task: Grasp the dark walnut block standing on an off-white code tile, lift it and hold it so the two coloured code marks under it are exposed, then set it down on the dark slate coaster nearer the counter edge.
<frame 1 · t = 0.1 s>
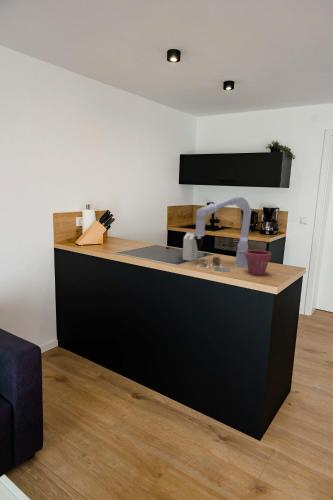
hand: (199, 248, 221), 10 cm above the worktop, fingers open, 7 cm apart
milk carton: (189, 260, 232), on the worktop
plant pot: (256, 273, 201), on the worktop
walnut block: (216, 261, 216), on the code tile W
slate coaster: (222, 270, 206), on the worktop
code tile O: (203, 266, 213), on the worktop
code tile W: (216, 265, 216), on the worktop
oak block: (203, 262, 212), on the code tile O
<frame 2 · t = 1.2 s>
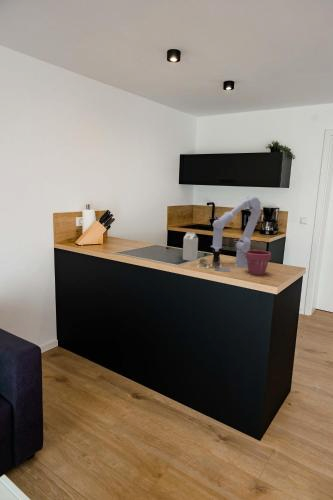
hand: (216, 260, 216), 4 cm above the worktop, fingers open, 7 cm apart
nothing on the worktop moved.
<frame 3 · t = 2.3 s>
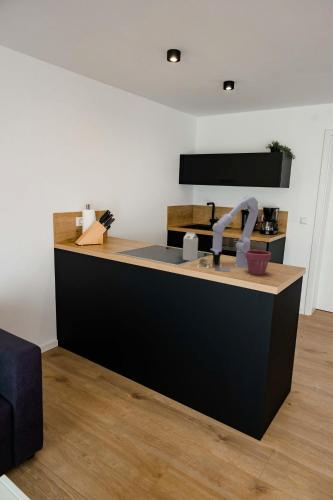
hand: (216, 263, 216), 2 cm above the worktop, fingers closed on walnut block, 4 cm apart
walnut block: (216, 261, 216), on the code tile W, touching gripper
everything else where it was.
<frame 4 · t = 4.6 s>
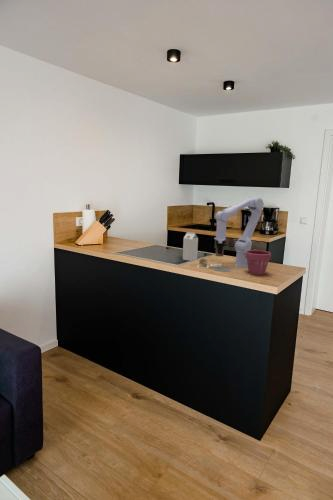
hand: (219, 253, 209), 9 cm above the worktop, fingers closed on walnut block, 4 cm apart
walnut block: (219, 251, 209), point 10 cm above the worktop, touching gripper
everything else where it was.
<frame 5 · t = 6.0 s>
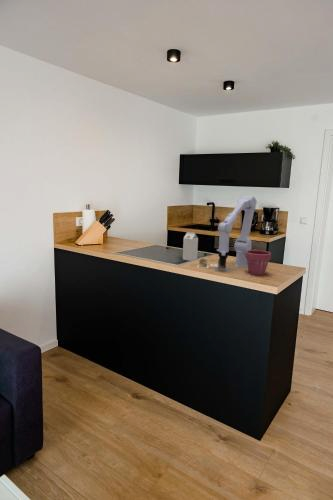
hand: (222, 264, 206), 3 cm above the worktop, fingers closed on walnut block, 4 cm apart
walnut block: (222, 263, 205), point 4 cm above the worktop, touching gripper
everything else where it was.
when the fingers open (3 cm above the worktop, at t = 7.0 s): walnut block stays where it is, resting on slate coaster.
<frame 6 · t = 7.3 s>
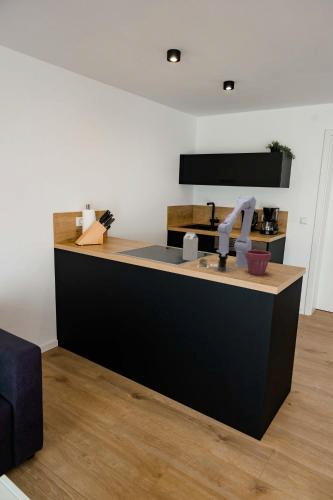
hand: (222, 265, 206), 3 cm above the worktop, fingers open, 7 cm apart
walnut block: (222, 265, 206), on the slate coaster
everything else where it was.
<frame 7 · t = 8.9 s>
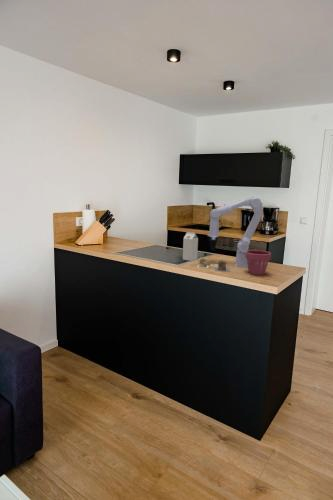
hand: (213, 249, 219), 10 cm above the worktop, fingers open, 7 cm apart
nothing on the worktop moved.
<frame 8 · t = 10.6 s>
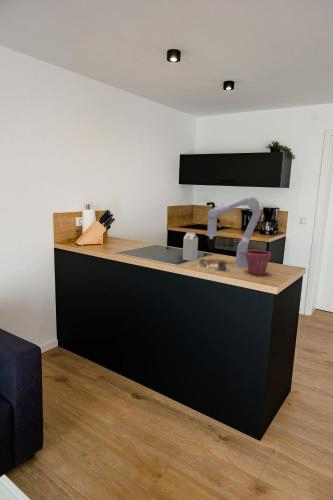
hand: (211, 248, 222), 10 cm above the worktop, fingers open, 7 cm apart
nothing on the worktop moved.
at the end: walnut block inside the target area on the slate coaster (0.3 cm from its centre), point 3.0 cm above the slate coaster's base; walnut block tilted 0°; walnut block moved 10.7 cm from its start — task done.
